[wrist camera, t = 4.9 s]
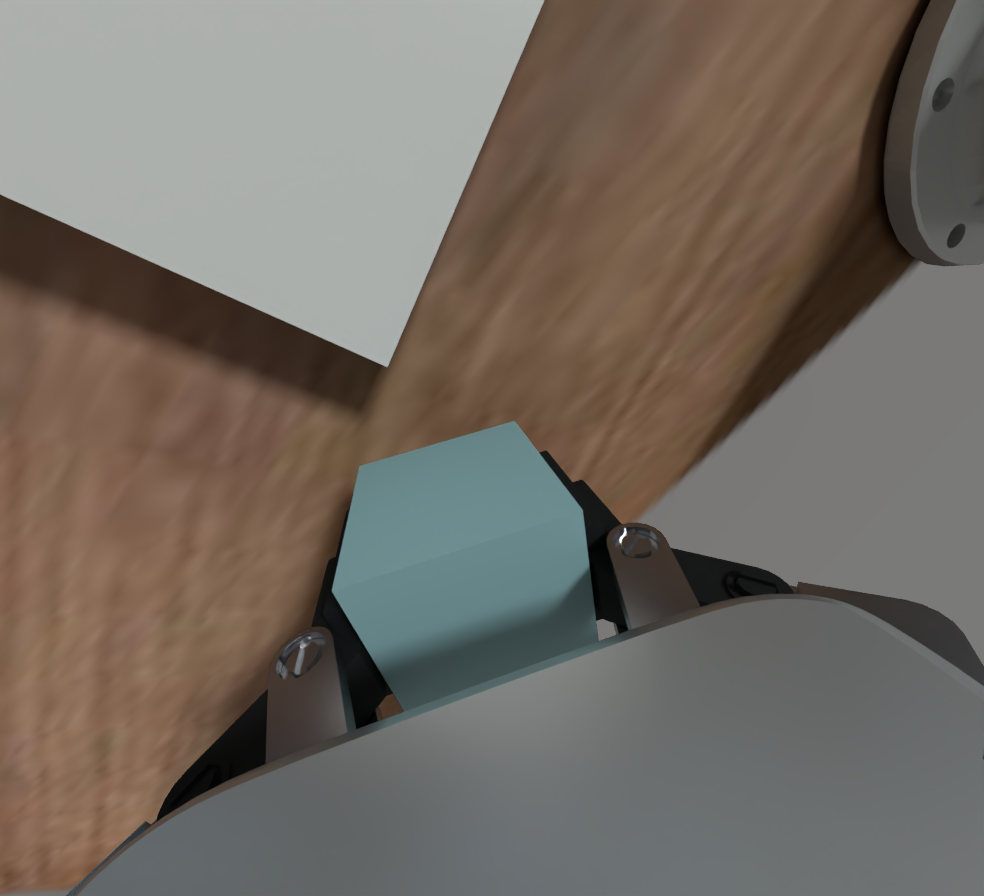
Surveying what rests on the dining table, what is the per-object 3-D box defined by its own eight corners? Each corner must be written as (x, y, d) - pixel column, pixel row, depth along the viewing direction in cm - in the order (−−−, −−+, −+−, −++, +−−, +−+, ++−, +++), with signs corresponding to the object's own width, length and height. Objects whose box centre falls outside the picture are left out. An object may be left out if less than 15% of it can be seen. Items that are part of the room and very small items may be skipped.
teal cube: (514, 420, 12) (582, 510, 7) (538, 538, 14) (600, 659, 10) (359, 466, 11) (331, 591, 7) (410, 580, 13) (414, 728, 9)
